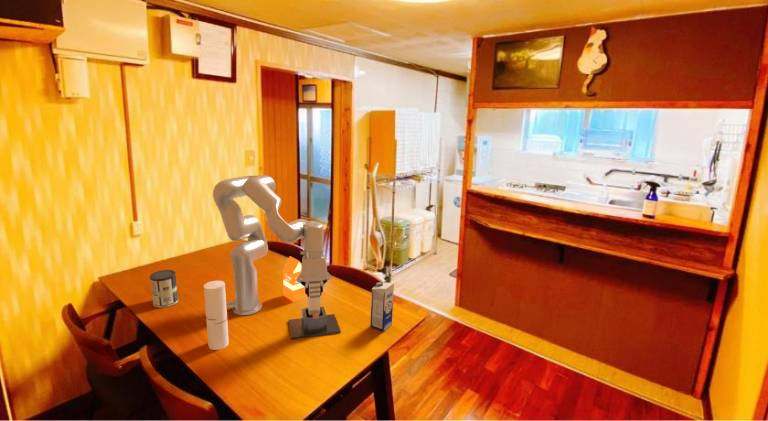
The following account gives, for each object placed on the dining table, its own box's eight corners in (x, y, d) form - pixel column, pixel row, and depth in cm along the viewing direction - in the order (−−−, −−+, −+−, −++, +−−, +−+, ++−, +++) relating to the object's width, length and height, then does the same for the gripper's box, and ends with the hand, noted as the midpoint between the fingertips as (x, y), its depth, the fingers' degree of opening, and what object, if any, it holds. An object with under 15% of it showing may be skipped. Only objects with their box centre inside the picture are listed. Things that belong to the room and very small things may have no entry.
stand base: (291, 339, 150) (290, 320, 148) (288, 321, 163) (288, 303, 161) (340, 333, 157) (341, 314, 155) (334, 316, 170) (334, 298, 167)
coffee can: (168, 295, 182) (165, 268, 178) (183, 300, 178) (180, 272, 174) (147, 304, 173) (144, 275, 169) (162, 309, 168) (159, 280, 165)
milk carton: (383, 332, 159) (385, 288, 154) (370, 327, 162) (371, 284, 157) (392, 324, 165) (394, 282, 160) (379, 320, 168) (380, 278, 163)
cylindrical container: (212, 339, 149) (207, 280, 143) (231, 338, 149) (227, 280, 143) (205, 350, 142) (200, 289, 136) (225, 349, 143) (221, 289, 136)
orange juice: (297, 291, 192) (296, 254, 187) (306, 297, 186) (306, 259, 181) (283, 295, 186) (282, 257, 181) (292, 302, 180) (292, 263, 175)
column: (309, 315, 155) (309, 284, 152) (308, 310, 160) (307, 279, 156) (320, 314, 156) (320, 283, 153) (318, 308, 161) (318, 278, 158)
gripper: (293, 258, 146) (294, 301, 150) (336, 255, 151) (335, 296, 156) (291, 251, 153) (292, 292, 157) (332, 248, 158) (332, 288, 162)
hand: (313, 294), depth 156 cm, fingers closed on column, 4 cm apart
